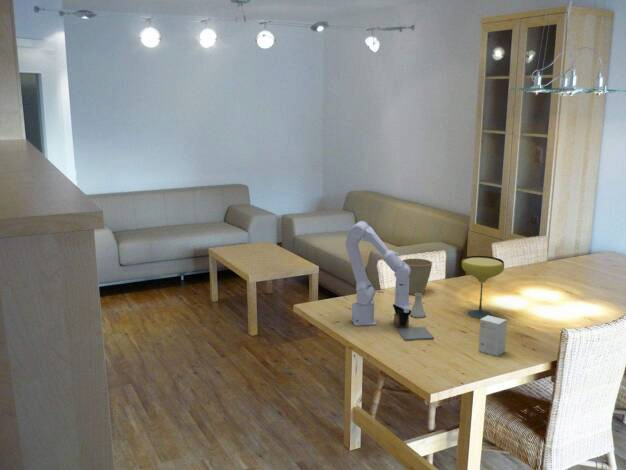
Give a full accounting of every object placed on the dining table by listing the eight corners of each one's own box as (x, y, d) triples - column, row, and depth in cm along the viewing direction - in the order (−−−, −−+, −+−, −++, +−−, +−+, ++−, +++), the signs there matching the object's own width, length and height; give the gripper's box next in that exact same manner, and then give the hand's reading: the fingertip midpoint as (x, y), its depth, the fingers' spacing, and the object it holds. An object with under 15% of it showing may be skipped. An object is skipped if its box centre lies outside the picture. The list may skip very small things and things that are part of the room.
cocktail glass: (500, 309, 286) (504, 257, 280) (501, 323, 269) (504, 267, 263) (460, 306, 290) (462, 254, 285) (458, 319, 273) (461, 264, 268)
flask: (413, 319, 274) (414, 297, 272) (406, 313, 281) (407, 292, 279) (428, 317, 276) (429, 296, 274) (421, 312, 283) (422, 291, 281)
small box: (505, 351, 239) (507, 319, 236) (497, 356, 234) (499, 324, 231) (485, 346, 244) (487, 314, 241) (477, 351, 240) (479, 318, 237)
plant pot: (433, 297, 303) (434, 266, 300) (402, 297, 304) (403, 265, 300) (428, 288, 318) (429, 258, 314) (399, 288, 318) (400, 258, 315)
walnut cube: (397, 328, 263) (397, 317, 262) (393, 324, 268) (394, 313, 267) (408, 328, 264) (408, 316, 262) (405, 323, 268) (405, 312, 267)
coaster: (404, 340, 250) (404, 339, 250) (396, 330, 261) (396, 328, 261) (433, 339, 251) (433, 337, 251) (424, 328, 263) (424, 326, 263)
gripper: (416, 297, 256) (415, 328, 259) (406, 287, 270) (405, 316, 273) (399, 298, 255) (398, 329, 258) (390, 287, 269) (389, 317, 272)
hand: (401, 323), depth 265 cm, fingers closed on walnut cube, 5 cm apart
